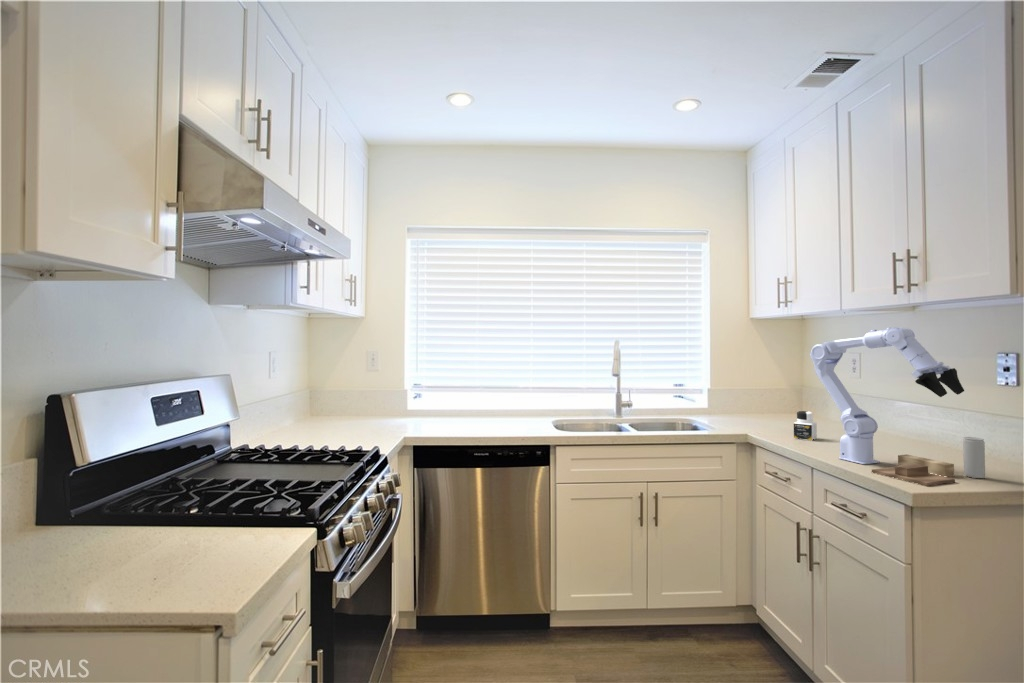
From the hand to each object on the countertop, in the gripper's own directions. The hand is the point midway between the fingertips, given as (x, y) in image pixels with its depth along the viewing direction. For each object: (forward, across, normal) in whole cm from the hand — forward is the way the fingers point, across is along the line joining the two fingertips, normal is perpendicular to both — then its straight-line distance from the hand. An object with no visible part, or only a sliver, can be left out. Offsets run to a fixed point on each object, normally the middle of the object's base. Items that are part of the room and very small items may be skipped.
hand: (952, 394), depth 146 cm
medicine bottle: (-19, +14, +68) cm, 72 cm away
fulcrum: (+16, -9, +22) cm, 28 cm away
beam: (+14, +3, +25) cm, 29 cm away
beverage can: (+21, +9, +17) cm, 29 cm away
